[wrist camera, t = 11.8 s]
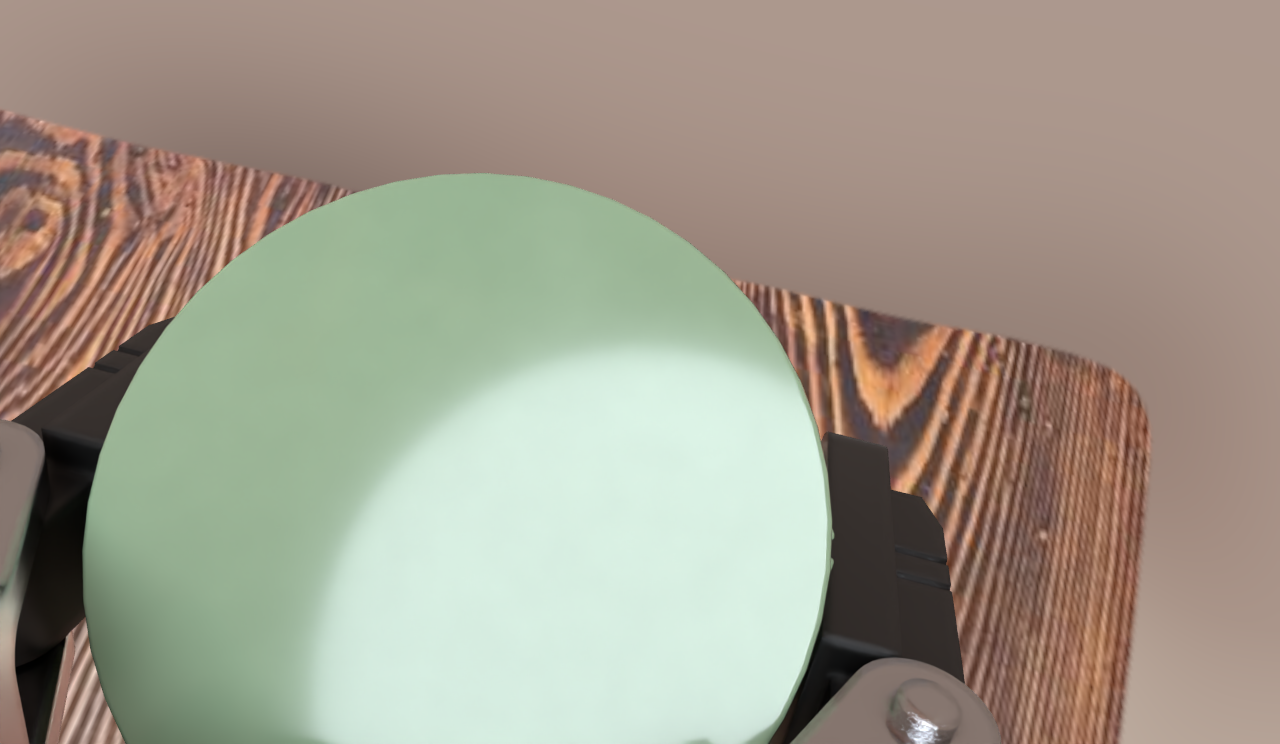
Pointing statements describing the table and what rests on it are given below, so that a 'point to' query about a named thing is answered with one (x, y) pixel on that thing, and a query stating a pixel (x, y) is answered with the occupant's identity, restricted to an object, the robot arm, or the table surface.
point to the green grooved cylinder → (460, 488)
